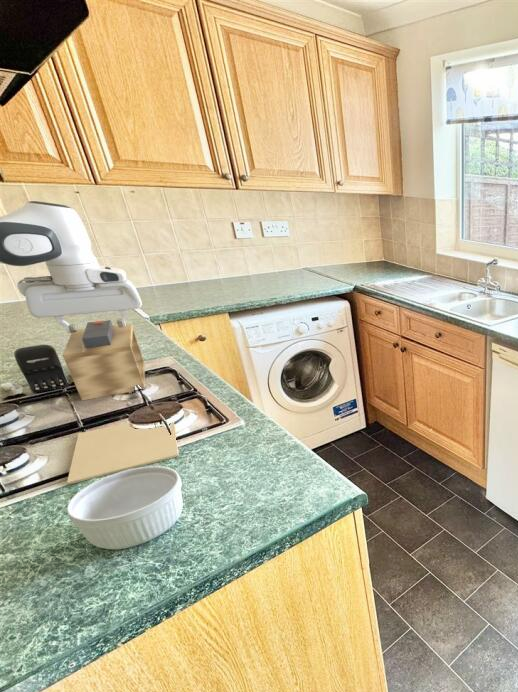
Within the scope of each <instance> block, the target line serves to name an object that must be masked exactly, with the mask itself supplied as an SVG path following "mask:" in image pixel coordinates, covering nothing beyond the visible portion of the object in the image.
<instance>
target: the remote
mask: <svg viewBox="0 0 518 692" xmlns="http://www.w3.org/2000/svg"><path fill="white" fill-rule="evenodd" d="M113 326H114V325H113V323H112V320H110V319H108V320H100V321H99V320H98V321H88V322H87V323H86V326H85V328H84V329H85V332H84V334H83V337H82V340H83V343H84V345H85V348H89V347H97V346H105V345H111V341H112V335H113V329H114V328H113Z"/></svg>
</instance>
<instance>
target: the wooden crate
mask: <svg viewBox="0 0 518 692" xmlns="http://www.w3.org/2000/svg"><path fill="white" fill-rule="evenodd" d="M113 328H114V329H113V335H112V341H111V345H105V346H97V347H89V348H85V345H84V343H83V340H82V337H83V334H84V332H85V329H86V328H80V329H76V330H77V332H74V333H70V336H69V337H68V339H67V342H66V345H65V348H64V350H63V353H62V357H63V359H64V361H65V365H66V367H67V369H68V371H69V373H70V376H71V379H72V381H73V383H74V386H75V389H76V390H77V392H78V396H79V398H80V400H81V401H86V400H92V399H98V398H99V399H100V398H105V397H109V396H115V395H121V394H126V393H132V392H135V391H134V390H135V386H136V385H139V386H140V387H141V388H142V389H143V390H146V363H145V360H144V357H143V353H142V351H141V347H140V345H139V341H138V338H137V336H136V333H135V330H134V326H133V323H127V324H126V327H120V328H119V327H118V324H117V325H113ZM143 390H142V391H143Z"/></svg>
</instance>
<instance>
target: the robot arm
mask: <svg viewBox="0 0 518 692" xmlns="http://www.w3.org/2000/svg"><path fill="white" fill-rule="evenodd" d="M40 263H41V264H42V263H45V265H46V268H47V270H48V272H49V275H45V276H44V275H42V276H34V277H33V276H27V277H23V278H22V279H20V280H18V282H17V289H18V291H19V293H20V294H21V295H22V296H24V297H25V301H26V306H27V309H28V311H29V314H30V315H31V316H33V317H34V318H37V319H41V318H43V319H44V318H52V317H53V318H54V320H55V321H56V322H57V323H58V324H59V325H61V326H63V327H64V328H65V330H66V332H67V334H71V333H74V332H77V330H78V329H77V328H76V325H75V324H74V323H71V324H70V323H69V322H67V321H66V320H65V318H66V317H65V316H73V315H75V316H76V315H85V314H95V313H96V314H97V313H107V312H117V311H118V313H119V315H121V318H120V319H119V318H118V319H116V324H117V325H118V327H119V328H120V327H126V325H127V324H126V317H127V316H128V310H138V309H140V308H141V307H142V306H143V301H142V299H141V296H140V294H139V291H138V290H137V287H136V286H135V285H134V283H133V282H132V281H131V280H130V279H128V278H127V273H126V271H125V270H124V269H122V268H118V267H112V266H108V265H102V264H100V263H99V262H98V259H97V257H96V256H95V255H94V254H93V251H92V241H91V239H90V237H89V234H88V231H87V229H86V227H85V225H84V222H83V221H82V218H81V217H80V216H79V214H78V213H77V211H76V210H75V209H73V208H72V207H70V206H68V205H65V204H60V203H53V202H45V201H37V200H30V201H26V203H25V204H24V205H22V206H20V208H18V209H16V210H14V211H12V212H10V213H7V214H4V215H1V216H0V264H3V265H7V266H12V267H27V266H31V265H37V264H40Z"/></svg>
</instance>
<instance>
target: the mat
mask: <svg viewBox="0 0 518 692" xmlns="http://www.w3.org/2000/svg"><path fill="white" fill-rule="evenodd" d="M129 423H130V422H126V423H121V424H116V425H111V426H106V427H102V428H97V429H92V430H86V431H82V432H78V434H77V438H76V442H75V445H74V450H73V455H72V459H71V464H70V468H69V472H68V477H67V481H66V484H67V485H72V484H77V483H80V482H85V481H89V480H92V479H96V478H97V479H98V478H100V477H103V476H109V475H112V474H115V473H118V472H122V471H125V470H129V469H134V468H140V467H144V466H147V465H151V464H155V463H159V462H162V461H167V460H171V459H174V458H178V457H180V455H179V454H180V453H179V446H178V439H177V440H176V438H177V432H176V423H175V421H174V422H173V423H171V424H170V425H169V426H170V429H171V433H172V434H171V435H170V433H169V432H168V430H167V429H166V428H165V427H164V426H162V427H157V428H151V429H134V428H132V427H130V425H129ZM174 423H175V424H174Z"/></svg>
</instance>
